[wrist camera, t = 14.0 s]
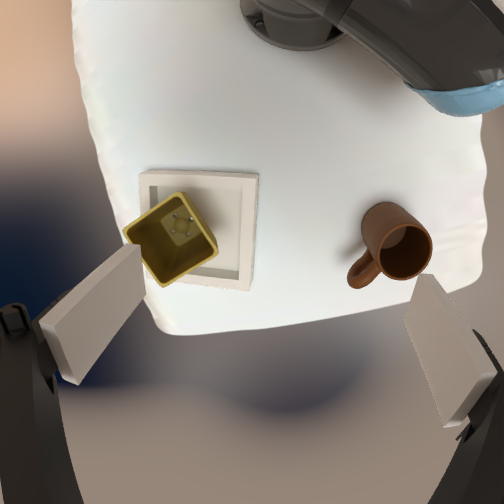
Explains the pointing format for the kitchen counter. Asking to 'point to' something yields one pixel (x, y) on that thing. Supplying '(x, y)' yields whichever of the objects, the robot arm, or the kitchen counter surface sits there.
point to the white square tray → (213, 219)
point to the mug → (391, 246)
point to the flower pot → (172, 239)
